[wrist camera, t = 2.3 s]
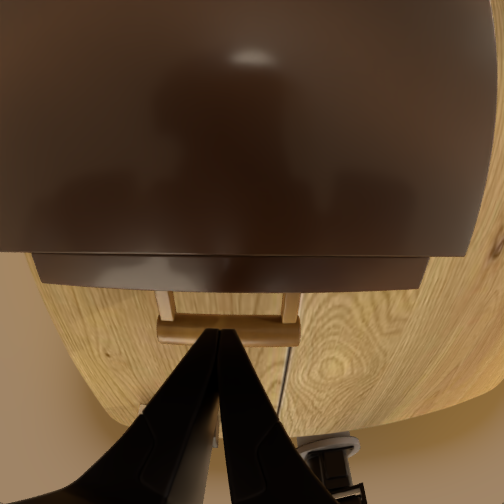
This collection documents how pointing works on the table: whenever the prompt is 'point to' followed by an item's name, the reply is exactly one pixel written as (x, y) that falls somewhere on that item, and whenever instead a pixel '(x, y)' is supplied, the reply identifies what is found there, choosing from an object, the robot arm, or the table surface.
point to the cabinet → (245, 126)
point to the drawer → (231, 285)
